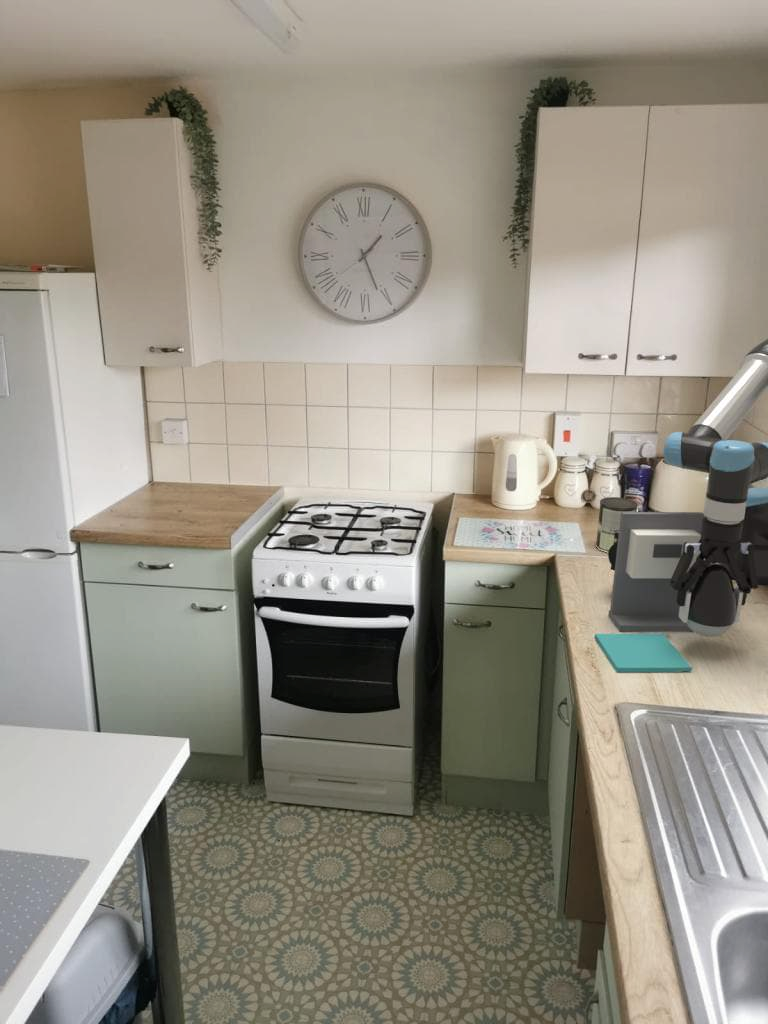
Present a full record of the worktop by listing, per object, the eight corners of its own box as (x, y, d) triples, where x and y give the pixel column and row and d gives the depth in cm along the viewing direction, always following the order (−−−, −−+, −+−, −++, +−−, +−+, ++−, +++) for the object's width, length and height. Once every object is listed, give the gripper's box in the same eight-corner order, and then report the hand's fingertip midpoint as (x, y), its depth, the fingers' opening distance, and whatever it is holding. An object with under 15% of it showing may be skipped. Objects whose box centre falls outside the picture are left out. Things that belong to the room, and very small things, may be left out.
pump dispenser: (673, 620, 166) (681, 554, 161) (721, 620, 165) (731, 555, 160) (689, 642, 156) (698, 573, 151) (740, 643, 155) (752, 574, 151)
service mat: (662, 637, 166) (663, 633, 166) (691, 672, 152) (691, 667, 152) (594, 637, 166) (595, 633, 166) (616, 672, 152) (617, 667, 151)
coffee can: (588, 544, 224) (593, 498, 219) (618, 541, 227) (623, 495, 223) (608, 556, 214) (614, 508, 210) (639, 553, 217) (645, 505, 213)
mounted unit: (684, 616, 177) (700, 511, 170) (699, 631, 170) (716, 522, 162) (608, 616, 177) (620, 511, 169) (619, 631, 169) (632, 522, 161)
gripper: (769, 512, 157) (752, 610, 164) (660, 513, 156) (648, 612, 163) (788, 524, 150) (770, 626, 156) (674, 525, 149) (661, 628, 156)
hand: (708, 619), depth 160 cm, fingers closed on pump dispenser, 10 cm apart
